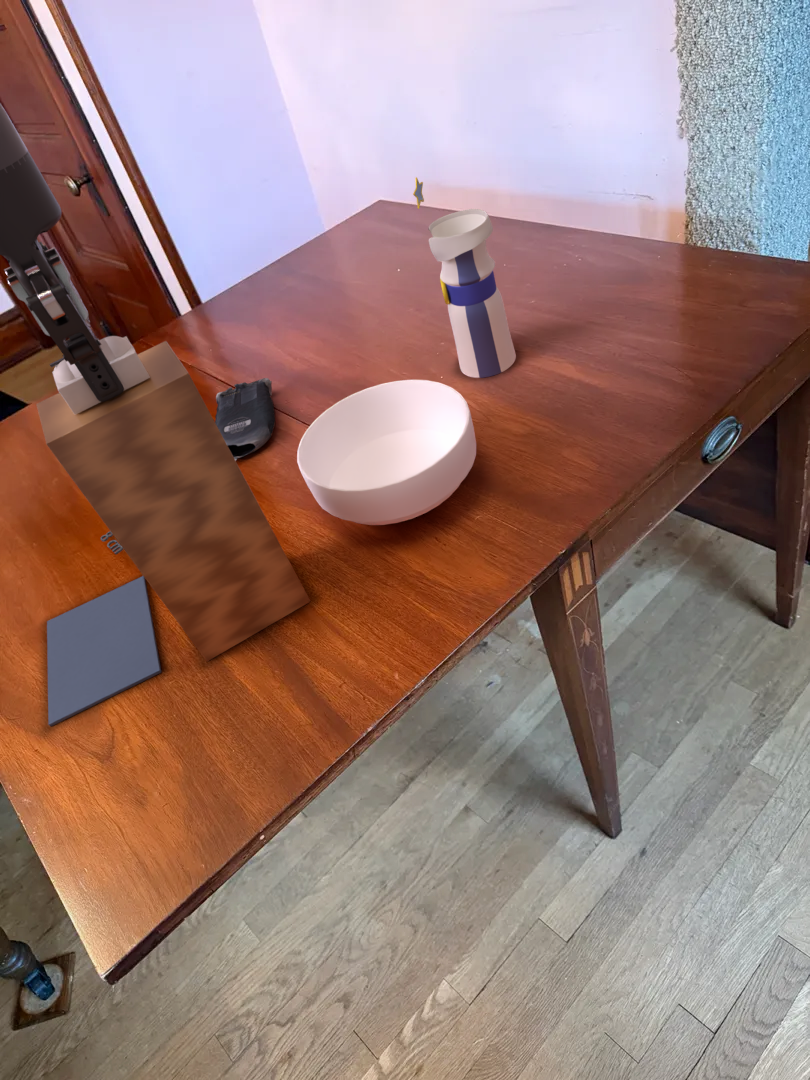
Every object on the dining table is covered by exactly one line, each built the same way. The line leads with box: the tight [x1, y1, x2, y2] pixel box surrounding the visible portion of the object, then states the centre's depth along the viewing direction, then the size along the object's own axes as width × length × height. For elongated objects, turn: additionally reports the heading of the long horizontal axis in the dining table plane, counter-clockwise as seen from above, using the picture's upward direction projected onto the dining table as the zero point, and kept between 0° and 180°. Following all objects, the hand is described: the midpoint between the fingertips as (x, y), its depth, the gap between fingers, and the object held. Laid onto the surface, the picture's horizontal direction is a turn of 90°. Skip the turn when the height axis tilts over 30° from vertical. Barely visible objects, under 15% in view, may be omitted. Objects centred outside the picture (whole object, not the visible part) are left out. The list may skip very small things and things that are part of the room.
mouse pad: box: [46, 575, 162, 727], centre depth 81 cm, size 16×12×1 cm
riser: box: [35, 340, 311, 662], centre depth 70 cm, size 12×8×28 cm, turn 118°
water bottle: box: [412, 176, 517, 379], centre depth 93 cm, size 8×9×25 cm
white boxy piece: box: [49, 335, 150, 415], centre depth 60 cm, size 7×4×4 cm, turn 118°
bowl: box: [296, 379, 477, 526], centre depth 84 cm, size 20×20×8 cm
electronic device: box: [214, 377, 276, 462], centre depth 105 cm, size 9×6×15 cm
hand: (107, 384), depth 61 cm, fingers closed on white boxy piece, 4 cm apart
